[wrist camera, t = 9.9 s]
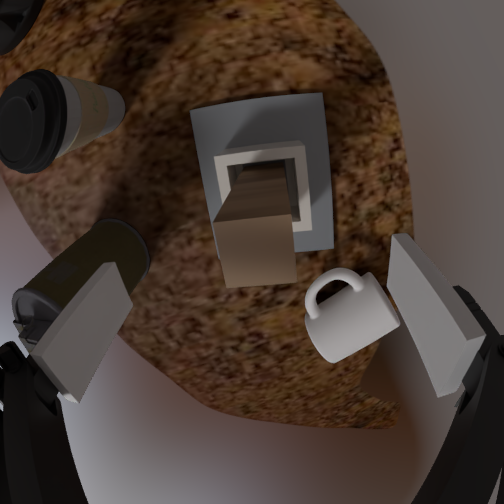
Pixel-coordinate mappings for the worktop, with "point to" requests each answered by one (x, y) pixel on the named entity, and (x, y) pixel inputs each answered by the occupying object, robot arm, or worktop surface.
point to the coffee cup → (53, 118)
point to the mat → (271, 131)
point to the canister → (78, 275)
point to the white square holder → (287, 152)
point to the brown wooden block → (257, 229)
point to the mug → (348, 314)
